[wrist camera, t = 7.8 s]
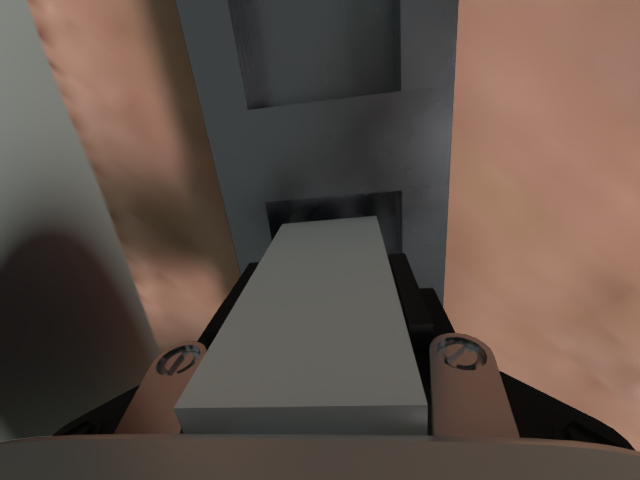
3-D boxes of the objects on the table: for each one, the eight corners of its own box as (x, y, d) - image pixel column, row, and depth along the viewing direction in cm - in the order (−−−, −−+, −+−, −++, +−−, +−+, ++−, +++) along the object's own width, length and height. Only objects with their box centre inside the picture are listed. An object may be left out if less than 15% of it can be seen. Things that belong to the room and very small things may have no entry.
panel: (188, -95, 12) (137, -158, 9) (438, -150, 10) (470, -242, 8) (270, 307, 18) (256, 342, 16) (426, 301, 17) (441, 338, 15)
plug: (282, 223, 13) (142, 458, 4) (376, 215, 13) (443, 462, 4) (295, 302, 15) (214, 600, 6) (381, 298, 14) (436, 615, 5)
